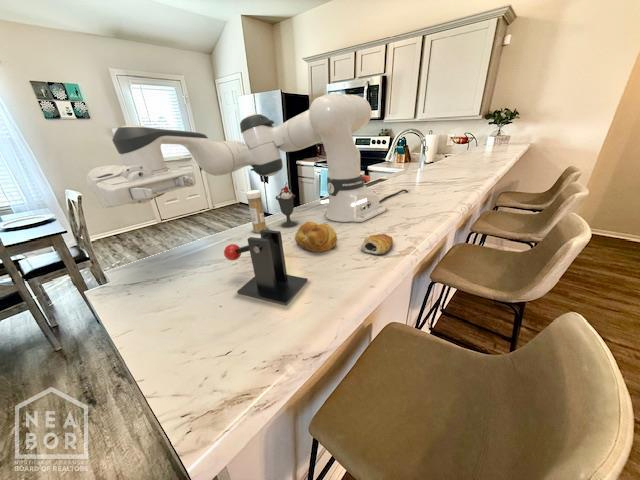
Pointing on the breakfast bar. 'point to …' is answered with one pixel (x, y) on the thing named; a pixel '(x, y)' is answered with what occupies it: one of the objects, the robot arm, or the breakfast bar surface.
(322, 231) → the bread roll
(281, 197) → the sundae
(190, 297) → the breakfast bar surface
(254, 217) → the sprinkles bottle
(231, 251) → the switch lever
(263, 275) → the switch base
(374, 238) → the pastry
